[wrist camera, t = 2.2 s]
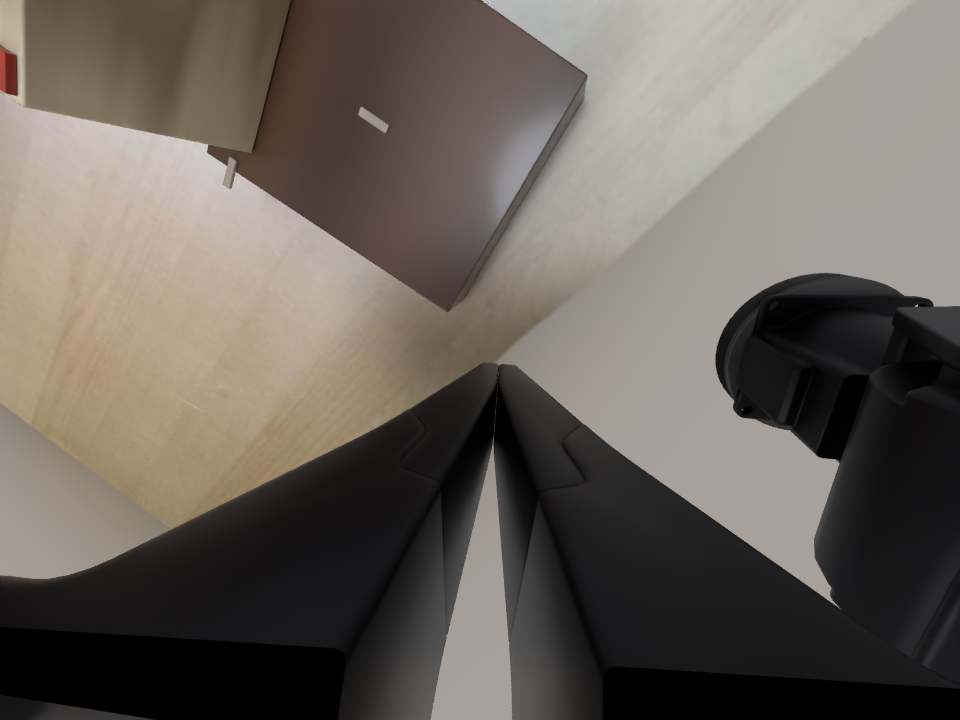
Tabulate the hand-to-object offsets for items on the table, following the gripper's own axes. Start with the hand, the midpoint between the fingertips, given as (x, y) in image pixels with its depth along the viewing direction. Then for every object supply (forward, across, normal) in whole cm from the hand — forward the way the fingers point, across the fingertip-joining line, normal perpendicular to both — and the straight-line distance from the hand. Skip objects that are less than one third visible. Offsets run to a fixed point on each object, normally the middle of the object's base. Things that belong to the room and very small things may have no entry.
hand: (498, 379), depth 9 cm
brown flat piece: (+14, -8, +6) cm, 17 cm away
